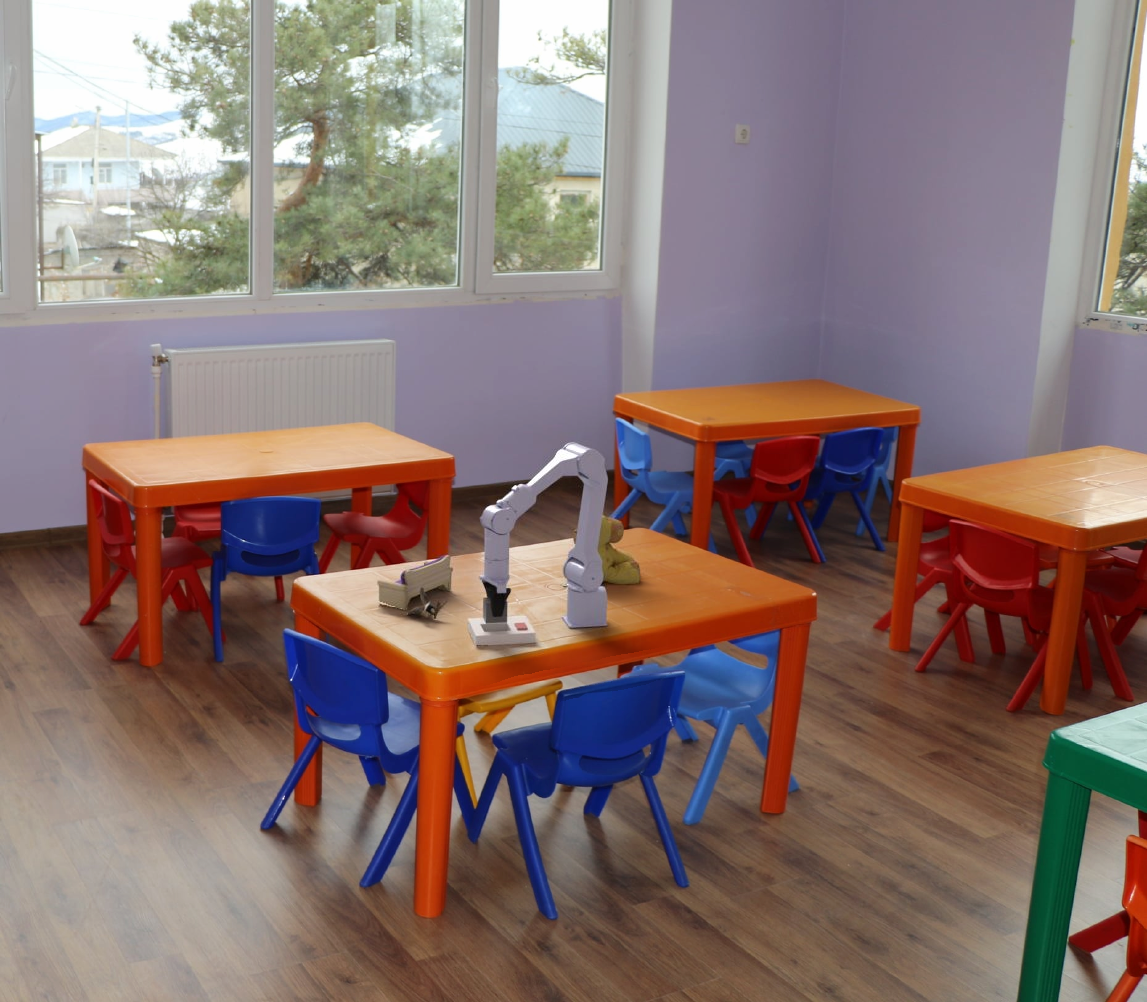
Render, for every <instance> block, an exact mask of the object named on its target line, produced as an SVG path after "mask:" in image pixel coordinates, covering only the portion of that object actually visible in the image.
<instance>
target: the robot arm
mask: <svg viewBox="0 0 1147 1002" xmlns="http://www.w3.org/2000/svg"><path fill="white" fill-rule="evenodd" d="M605 462H606V458H605V457H604V456H603V455H602V454H601V453H600V451H598V450H597V449H594V448H590V447H587V446H584V445H582V444H580V443H578V442H574V441H572V442H571V441H570V442H567V443H566V444H565V445H564V446H563V447H562V448H561V449H559V450H558V451H557V452H556V454H555V456H554V458H553V459H551V460H550V462H548V464H546V465H545V466H544V467H543V468H542V469H541V470H540V471H539V472H538V473H537V474H535V476H534V477H532V479H531V480H530V481H528V483H526V484H523V483H520V484H518V485H516V484H515V485H514V486H513V487H511V491H509V492H508V493H507V494H506V495H504V497H502V498H501V499H498V500H497V501H496V504H491V505H489V506H487V507H486V508H485V509H484V510H483V512H482V514H481V516H480V517H479V520H480V521H479V522H480V523H481V525H482V527H483V529H484V547H483V548H484V553H483V555H484V556H483V557H484V560H483V562H484V563H483V564H484V565H483V574H479V575H478V579H479V580H480V581H481V583H482V585H483V587H484V590H485V594H486V597H490V602H491V609H492V614H493V617H502V615H503V612H504V607H505V603H506V600H507V601H508V598H509V596H510V594H511V593H512V588H511V587H507V584H508V582H509V581H510V579H511V578H510V532H511V531H512V530H513V529H514V527H515V524H516V521H517V520H518V518H520V517H521V516H523V514H524V513H525V512H527V511H529V509H530V508H531V507H533V506H534V505H535V504H536V501H537V496H538V495H539V494H541V493H542V492H543V491H545V490H546V489H547V488H549V487H550V486H551V485H552V484H554V483H555V482H556V481H558V480H559V479H561V478H562V477H563V476H565V477H568V476H569V477H572V476H577V477H578V478H579V479H580V480H581V481H582V483H583V490H582V497H581V502H580V509H579V510H580V511H579V516H578V517H579V518H578V523H577V524H578V525H577V527H578V529H577V528H576V529H577V536H575V537H576V543H575V544H574V547H573V548H571V549H570V550H569V551H568V554H567V555H568V556H567V559H566V560H565V562H564V564H563V565H562V576H563V577H564V578H565V580H567V581H566V582H567V584H568V586H567V594H566V595H567V597H566V598H567V601H566V602H567V603H566V614H565V615H562V617H561V618H562V619H563V621H564V622H565V624H566V626H567V627H568V628H569V629H571V628H589V627H592V628H593V627H606V626H607V625H608V623H607V616H608V615H607V613H608V612H607V611H608V595H607V594H608V593H607V590H606V587H605V586H602V583H603V582H604V581H603V571H602V559H601V557H600V555H599V553H598V551H597V549H598V542H599V536H600V529H601V522H602V516H603V515H604V510H605V509H604V508H605V502H606V496H607V487H608V481H609V477H608V473H607V470H606V467H605ZM600 585H601V586H600Z"/></svg>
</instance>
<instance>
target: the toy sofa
mask: <svg viewBox="0 0 1147 1002" xmlns="http://www.w3.org/2000/svg"><path fill="white" fill-rule="evenodd" d="M453 571H454V568H453V566H451V556H450V555H448V554H445V555H441V556H440V557H439V558H437V559H435V560H432V561H429V560H425V561H424V563H423V565H420V566H417V567H414V568H410V569H405V570H404V571H402V572H401V574H400V579H399V580H395V581H390V580H385V579H381V578H379V579H378V580H377V581H376V583H377V586H378V602H379V601H380V602H383V603H386V604H388V605H391V606H395V607H397V608H402V609H407V610H408V604H409V603H410V600H411V599H412V598H414V597H417V596H418V595H421V594H420V590H421V588H424V592H425V593H426V592H428V591H431V590H433V589H437V588H440V589H439V590H441V589H443V590H442V591H446V590H447V591H446V592H451V591H452V577H453V576H452V575H453ZM450 590H451V591H450ZM397 608H396V609H397Z"/></svg>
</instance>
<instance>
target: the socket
mask: <svg viewBox="0 0 1147 1002" xmlns="http://www.w3.org/2000/svg"><path fill="white" fill-rule="evenodd" d="M467 630H468V632H469V634H471V635H470V636H471V639H472V638H473V639H472V641H473V643H474V645H482V646H481V647H484V646H483V645H488V646H502V645H504V646H505V645H519V644H520V645H521V644H535V643H536V634H537V633H536V631H535V628H533V626H532V624H531V622H530V620H529V619H528V617H527V616H526V615H512V616H510V615H509V616H508V615H507V623H487V624H486V623H485V621H484V619H483V617H474V618H473V617H472V618H471V617H468V618H467Z"/></svg>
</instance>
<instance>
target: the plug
mask: <svg viewBox="0 0 1147 1002" xmlns="http://www.w3.org/2000/svg"><path fill="white" fill-rule="evenodd" d="M482 598H483V599H482V605H483V606H482V618H483V619H484V621H485V623H486V624H487V623H507V616H508V599H507V600H506V603H505V607H504V612H503V615H502V617H493V614H492V609H491V602H490V597H487V596H486V597H482Z"/></svg>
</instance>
